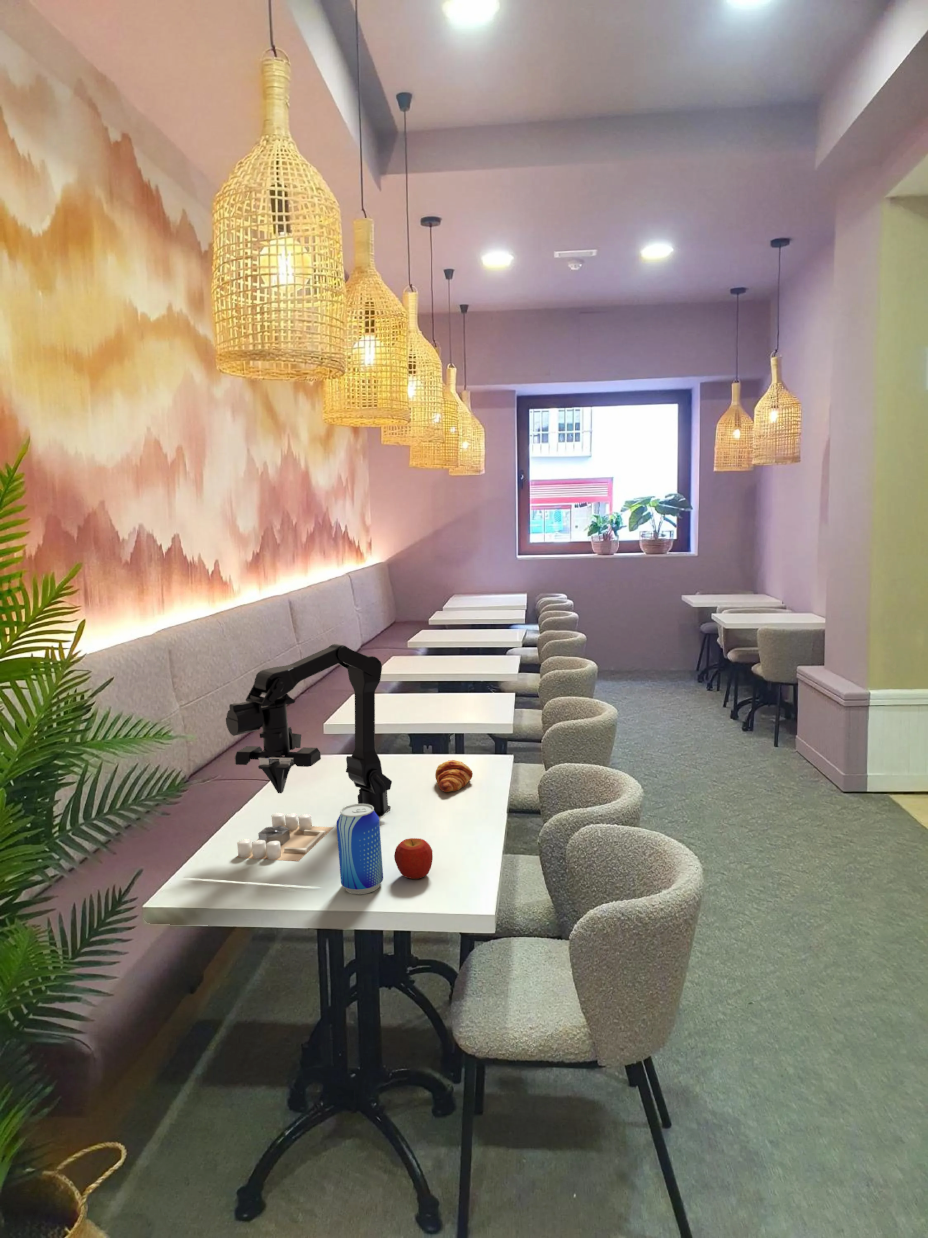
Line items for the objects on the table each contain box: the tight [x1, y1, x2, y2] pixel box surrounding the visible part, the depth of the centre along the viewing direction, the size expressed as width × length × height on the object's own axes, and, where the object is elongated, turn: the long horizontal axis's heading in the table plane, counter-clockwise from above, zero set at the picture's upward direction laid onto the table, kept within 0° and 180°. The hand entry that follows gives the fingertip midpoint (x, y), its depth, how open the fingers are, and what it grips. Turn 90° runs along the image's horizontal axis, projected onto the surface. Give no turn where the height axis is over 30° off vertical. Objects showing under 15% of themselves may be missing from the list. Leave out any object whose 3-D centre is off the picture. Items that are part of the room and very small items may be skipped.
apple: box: [393, 837, 434, 880], centre depth 167 cm, size 8×8×8 cm
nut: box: [257, 825, 290, 845], centre depth 188 cm, size 6×7×2 cm
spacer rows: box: [236, 812, 313, 861], centre depth 188 cm, size 10×19×3 cm, turn 166°
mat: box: [235, 824, 334, 862], centre depth 187 cm, size 15×19×1 cm
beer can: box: [335, 803, 384, 895], centre depth 163 cm, size 8×8×16 cm
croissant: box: [434, 759, 473, 793], centre depth 223 cm, size 21×10×8 cm, turn 171°
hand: (280, 792), depth 186 cm, fingers closed
